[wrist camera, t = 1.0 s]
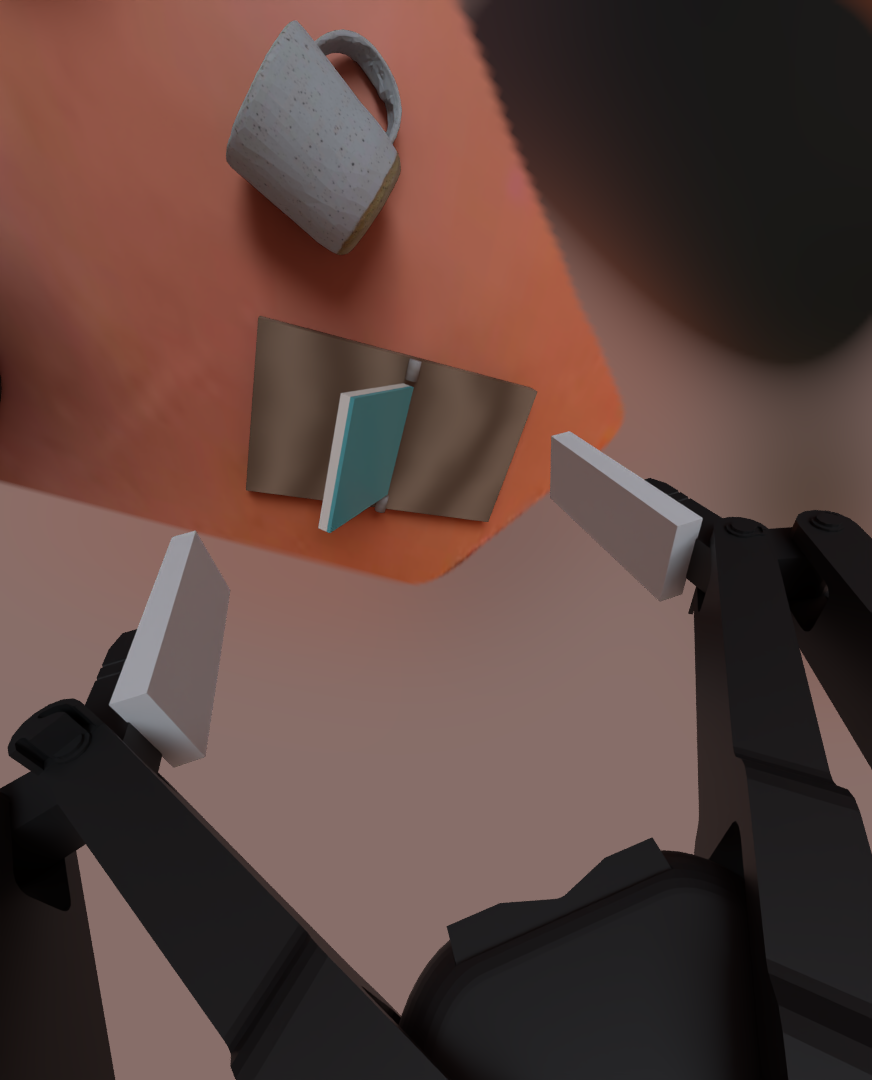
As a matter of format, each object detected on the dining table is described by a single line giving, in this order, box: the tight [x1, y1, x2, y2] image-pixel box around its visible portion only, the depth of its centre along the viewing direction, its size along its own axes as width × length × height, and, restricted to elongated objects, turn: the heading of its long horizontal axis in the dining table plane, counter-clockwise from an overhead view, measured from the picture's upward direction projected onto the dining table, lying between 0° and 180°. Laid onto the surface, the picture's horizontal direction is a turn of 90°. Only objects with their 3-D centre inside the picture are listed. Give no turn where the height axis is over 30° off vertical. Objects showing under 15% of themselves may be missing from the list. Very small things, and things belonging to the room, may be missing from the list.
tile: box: [318, 383, 414, 533], centre depth 34 cm, size 10×10×1 cm
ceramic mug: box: [226, 21, 402, 255], centre depth 26 cm, size 11×8×8 cm
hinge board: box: [246, 316, 537, 522], centre depth 39 cm, size 24×14×2 cm, turn 74°
